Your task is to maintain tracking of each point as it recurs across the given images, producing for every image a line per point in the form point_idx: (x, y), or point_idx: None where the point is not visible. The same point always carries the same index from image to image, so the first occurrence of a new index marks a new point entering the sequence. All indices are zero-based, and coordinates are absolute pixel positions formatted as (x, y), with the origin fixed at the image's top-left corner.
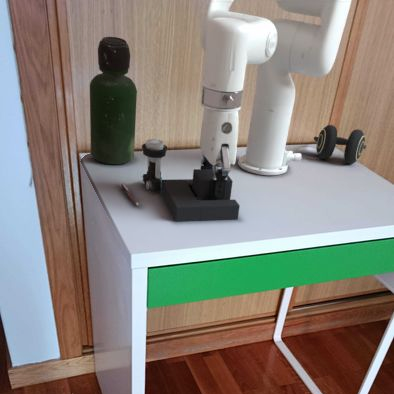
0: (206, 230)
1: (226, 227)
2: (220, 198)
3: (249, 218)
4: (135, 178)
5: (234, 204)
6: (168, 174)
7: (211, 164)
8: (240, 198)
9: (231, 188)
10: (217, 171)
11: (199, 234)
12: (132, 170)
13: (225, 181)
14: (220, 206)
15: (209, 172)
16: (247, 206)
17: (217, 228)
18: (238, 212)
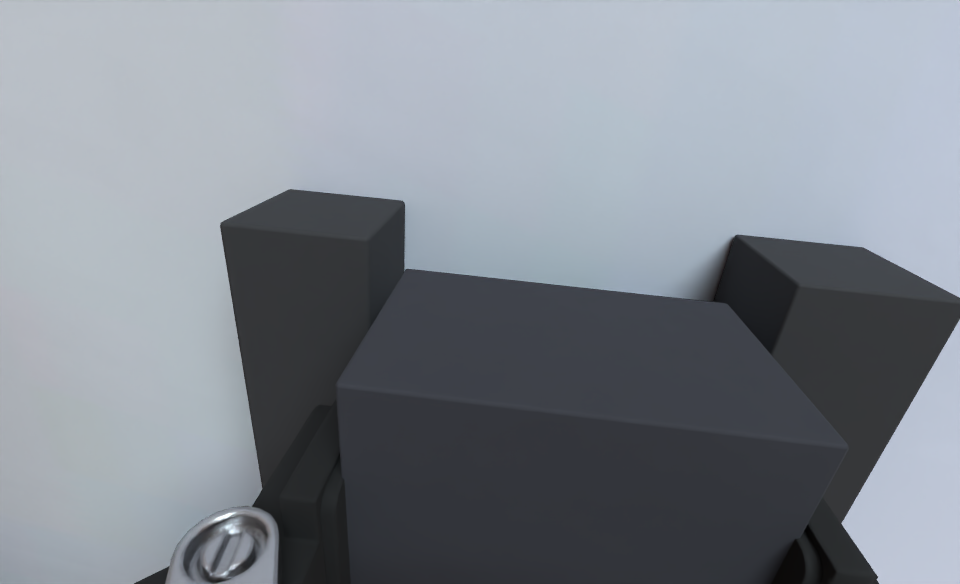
0: (894, 504)
1: (933, 381)
2: None
3: (898, 123)
4: (129, 579)
5: (912, 343)
6: (12, 416)
7: (307, 578)
8: (441, 9)
9: (786, 374)
10: (439, 494)
11: (918, 552)
12: (17, 560)
13: (852, 559)
14: (871, 468)
15: (463, 581)
16: (643, 16)
17: (909, 439)
18: (911, 274)
